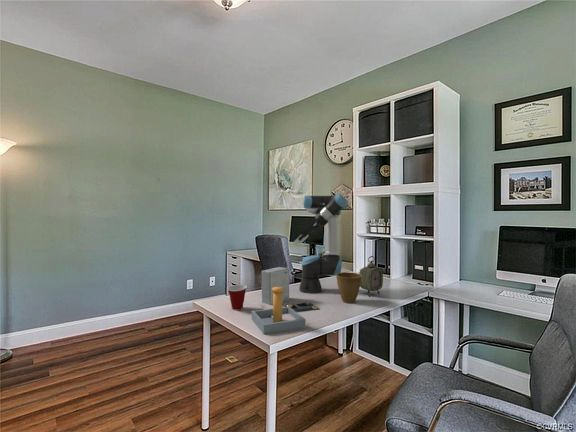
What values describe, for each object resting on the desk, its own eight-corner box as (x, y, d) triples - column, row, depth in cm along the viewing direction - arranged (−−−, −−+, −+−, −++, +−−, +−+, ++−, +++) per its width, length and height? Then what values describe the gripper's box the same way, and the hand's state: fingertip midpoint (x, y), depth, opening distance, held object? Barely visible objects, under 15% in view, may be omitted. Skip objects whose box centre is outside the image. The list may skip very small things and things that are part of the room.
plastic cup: (223, 307, 168) (223, 286, 168) (240, 304, 175) (240, 283, 175) (233, 313, 160) (233, 290, 160) (250, 309, 167) (250, 287, 166)
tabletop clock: (370, 298, 189) (370, 257, 189) (358, 295, 196) (358, 256, 196) (382, 294, 199) (383, 255, 199) (370, 291, 206) (371, 254, 205)
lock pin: (281, 318, 149) (281, 286, 149) (285, 322, 144) (285, 289, 144) (269, 320, 147) (270, 287, 147) (273, 324, 142) (274, 290, 142)
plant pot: (331, 299, 186) (331, 273, 186) (352, 296, 192) (352, 271, 191) (344, 306, 172) (345, 278, 172) (366, 303, 178) (366, 276, 178)
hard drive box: (280, 299, 185) (281, 266, 185) (289, 302, 180) (290, 268, 180) (261, 304, 174) (261, 270, 174) (269, 307, 169) (270, 272, 169)
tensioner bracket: (310, 305, 173) (310, 300, 173) (320, 312, 162) (320, 306, 162) (284, 308, 167) (284, 303, 167) (292, 315, 156) (292, 310, 156)
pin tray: (288, 314, 159) (288, 306, 159) (305, 327, 140) (305, 319, 140) (251, 319, 151) (251, 311, 151) (263, 334, 133) (263, 325, 133)
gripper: (326, 222, 157) (297, 250, 161) (330, 220, 181) (305, 245, 185) (316, 211, 158) (288, 240, 162) (321, 211, 183) (297, 236, 186)
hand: (297, 242), depth 173 cm, fingers open, 13 cm apart
